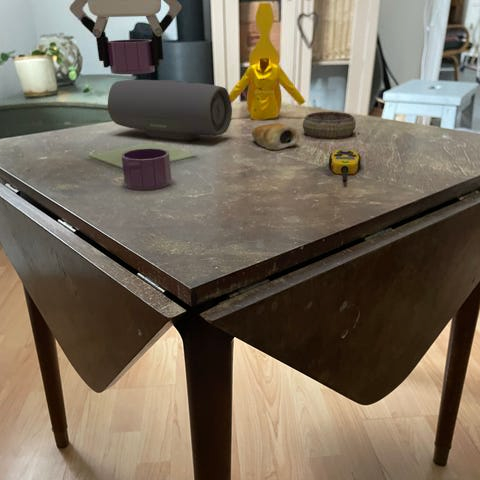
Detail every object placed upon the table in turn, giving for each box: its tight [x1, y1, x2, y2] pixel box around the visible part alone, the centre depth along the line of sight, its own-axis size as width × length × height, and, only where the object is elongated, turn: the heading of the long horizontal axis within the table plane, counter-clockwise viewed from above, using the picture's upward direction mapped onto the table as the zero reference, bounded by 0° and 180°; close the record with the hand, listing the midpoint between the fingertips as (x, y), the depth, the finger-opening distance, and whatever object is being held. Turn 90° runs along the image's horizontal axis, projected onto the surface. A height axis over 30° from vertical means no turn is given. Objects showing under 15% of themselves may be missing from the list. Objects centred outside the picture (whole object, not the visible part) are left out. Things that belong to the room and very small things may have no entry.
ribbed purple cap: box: [121, 148, 172, 191], centre depth 77 cm, size 7×7×4 cm
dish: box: [107, 39, 156, 75], centre depth 82 cm, size 7×7×4 cm
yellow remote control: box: [328, 149, 362, 183], centre depth 81 cm, size 5×2×15 cm
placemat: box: [88, 141, 197, 169], centre depth 91 cm, size 13×13×1 cm
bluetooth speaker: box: [107, 79, 233, 141], centre depth 102 cm, size 23×9×10 cm, turn 62°
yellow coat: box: [228, 2, 306, 121], centre depth 114 cm, size 18×8×22 cm, turn 88°
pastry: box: [251, 122, 300, 151], centre depth 97 cm, size 9×7×4 cm
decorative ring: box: [302, 111, 357, 139], centre depth 104 cm, size 10×3×10 cm
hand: (132, 64), depth 82 cm, fingers closed on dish, 6 cm apart
